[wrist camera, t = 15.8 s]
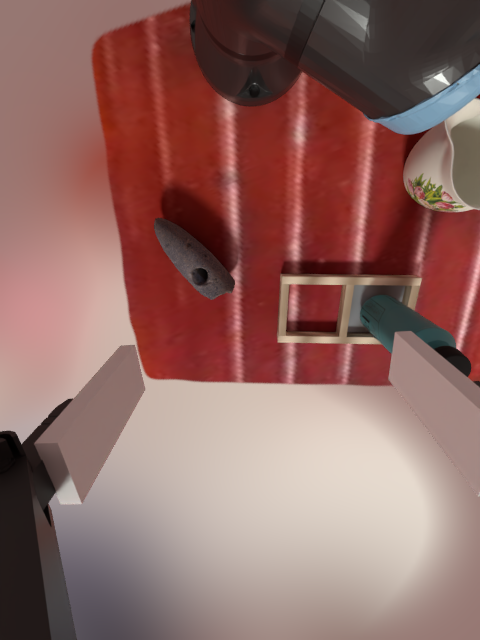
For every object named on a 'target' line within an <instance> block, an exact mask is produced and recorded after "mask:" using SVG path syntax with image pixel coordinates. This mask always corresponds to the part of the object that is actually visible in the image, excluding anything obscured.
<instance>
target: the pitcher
mask: <svg viewBox="0 0 480 640" xmlns="http://www.w3.org/2000/svg"><path fill="white" fill-rule="evenodd" d="M403 179H404V185H405V188H406V190H407V192H408V194H409V195H410V196H411V197H412V198H413V199H414V200H415V201H416V202H417V203H419V204H420V205H422V206H424V207H426V208H428V209H431V210H435V211H440V212H462V211H468V210H472V209H477V210H480V99H478V98H474V99H473V100H472V101H471V102H470V103H468V104H467V105H466V106H464V107H463V108H462V109H461V110H459V111H458V112H456V113H455V114H453V115H452V116H451V117H449V118H448V119H446V120H444V121H443V122H441V123H440V124H438V125H436V126H434V127H433V128H432V129H430V130H429V131H428V132H427V133H426V134H425V135H424V136H423V137H422V138H421V139H420V140H419V141H418V142H417V143H416V145H415V146H414V147H413V149H412V150H411V152H410V154H409V156H408V158H407V160H406V163H405V166H404V172H403Z"/></svg>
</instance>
